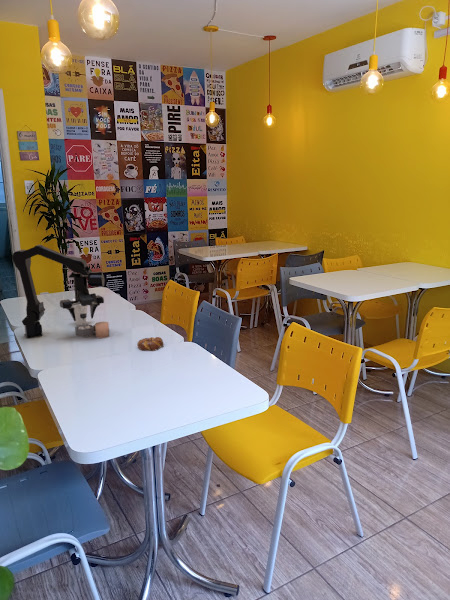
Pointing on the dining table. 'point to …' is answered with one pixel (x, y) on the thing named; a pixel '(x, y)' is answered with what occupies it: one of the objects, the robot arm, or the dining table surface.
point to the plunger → (83, 322)
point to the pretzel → (150, 343)
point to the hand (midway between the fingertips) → (83, 319)
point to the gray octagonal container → (85, 331)
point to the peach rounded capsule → (102, 329)
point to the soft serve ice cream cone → (79, 310)
